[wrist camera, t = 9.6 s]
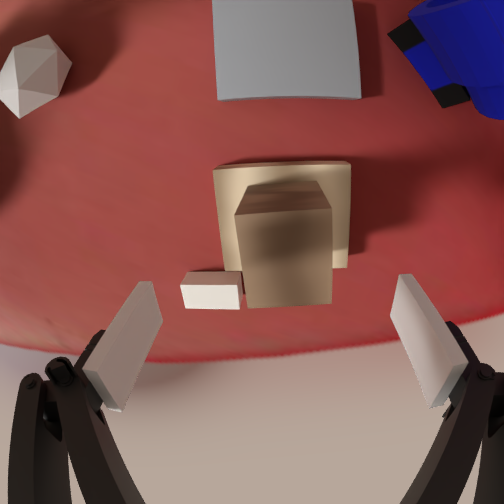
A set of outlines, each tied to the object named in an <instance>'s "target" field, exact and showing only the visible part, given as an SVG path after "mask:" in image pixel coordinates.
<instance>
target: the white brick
mask: <svg viewBox="0 0 504 504" xmlns="http://www.w3.org/2000/svg"><path fill="white" fill-rule="evenodd" d="M180 286H181V290H182V295H183V299H184V304H185V308H195V309H240V306H241V301H242V296H243V291H242V281H241V271H224V272H187V274H186V276H185V277H184V279H183V281H182V283H181V285H180Z"/></svg>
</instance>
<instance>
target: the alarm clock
mask: <svg viewBox="0 0 504 504" xmlns="http://www.w3.org/2000/svg"><path fill="white" fill-rule="evenodd" d="M408 16H409V18H410V19H409V20H408V21H406V22H405V23H403V24H402V25H400V26H399V27H397V28H396V29H394V30H393V31H391V32H390V33H388V34H387V35H388V36H389V37H390V38H391V39H392V40H393V41H394V43H395V44H396V45H397V46H398V47H399V49H400V50H401V51H402V52H403V53H404V55H405V56H406V57H407V58H408V60H409V61H410V62H411V64H412V65H413V66H414V68H415V69H416V70H417V72H418V73H419V74H420V76H421V77H422V78H423V80H424V81H425V83H426V84H427V85H428V87H429V88H430V90H431V91H432V93H433V94H434V96H435V97H436V99H437V100H438V102H439V104H440V105H441V107H442V108H446V107H449V106H452V105H455V104H459V103H462V102H465V101H469V100H470V97H471V99H472V101H473V104H474V106H475V108H476V109H477V110H478V111H479V113H481V114H483V115H484V116H486V117H489V118H493V119H498V120H504V0H426V1H424V2H423V3H421V4H419V5H418V6H416V7H415V8H414V9H412V10H411V11H410V12H409V14H408Z"/></svg>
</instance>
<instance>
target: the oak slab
mask: <svg viewBox="0 0 504 504" xmlns="http://www.w3.org/2000/svg"><path fill="white" fill-rule="evenodd" d="M213 178H214V187H215V195H216V204H217V212H218V220H219V228H220V236H221V244H222V252H223V260H224V267H225V271H242V266H241V259H240V253H239V246H238V239H237V232H236V226H235V219H234V214H235V212H236V210H237V208H238V206H239V204H240V201H241V199H242V197H243V195H244V193H245V191H246V188H247V186H253V185H264V184H276V183H289V182H304V181H317V182H318V184H319V186H320V187H321V189H322V191H323V193H324V194H325V196H326V198H327V200H328V202H329V204H330V205H331V207H332V230H333V265H332V268H347V259H348V245H349V227H350V202H351V164H349V163H348V162H346V161H289V162H265V163H248V164H233V165H221V166H217V167H216V168H215V169H213Z"/></svg>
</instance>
